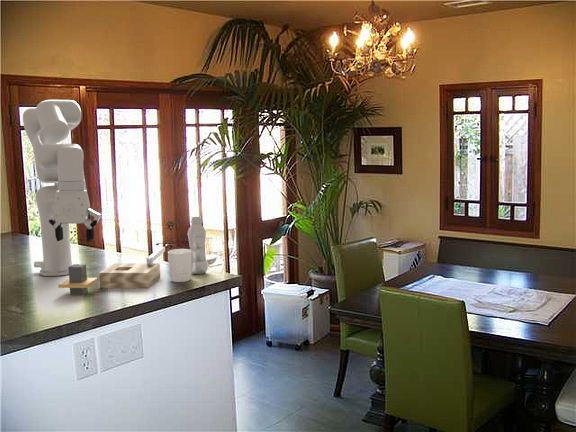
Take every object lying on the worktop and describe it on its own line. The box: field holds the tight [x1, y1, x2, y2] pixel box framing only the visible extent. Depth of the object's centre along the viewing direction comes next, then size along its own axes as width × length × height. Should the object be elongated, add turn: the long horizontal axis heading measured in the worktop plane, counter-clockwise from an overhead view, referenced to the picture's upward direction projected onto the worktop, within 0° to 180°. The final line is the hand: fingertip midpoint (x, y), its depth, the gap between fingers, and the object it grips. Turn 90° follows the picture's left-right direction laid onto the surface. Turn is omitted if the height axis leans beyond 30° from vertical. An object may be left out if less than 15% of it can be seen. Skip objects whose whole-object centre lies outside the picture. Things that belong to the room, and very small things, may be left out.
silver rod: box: [146, 246, 166, 266], centre depth 218 cm, size 21×2×3 cm, turn 179°
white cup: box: [167, 248, 192, 283], centre depth 209 cm, size 8×8×10 cm
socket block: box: [98, 262, 161, 289], centre depth 207 cm, size 16×14×5 cm
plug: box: [57, 263, 99, 296], centre depth 194 cm, size 9×9×9 cm
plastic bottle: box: [187, 216, 209, 275], centre depth 217 cm, size 6×7×20 cm
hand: (74, 240), depth 193 cm, fingers open, 9 cm apart
